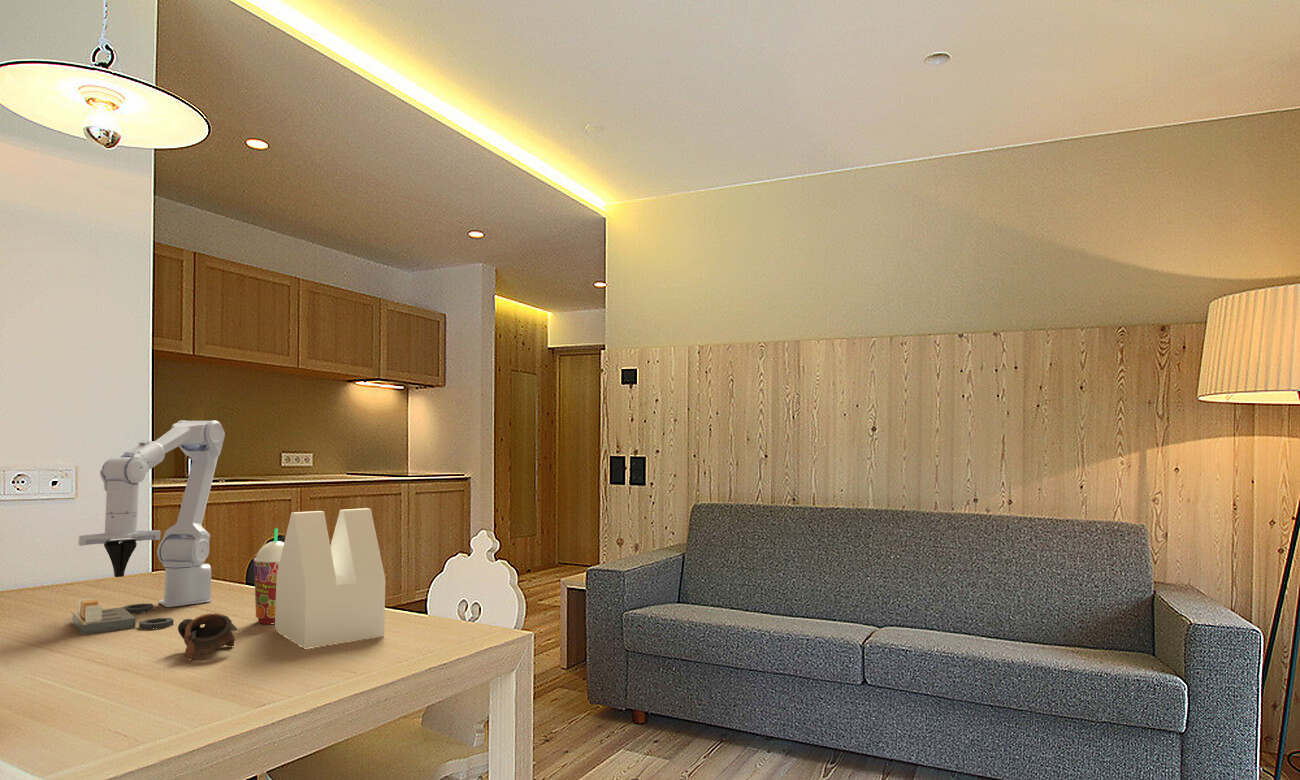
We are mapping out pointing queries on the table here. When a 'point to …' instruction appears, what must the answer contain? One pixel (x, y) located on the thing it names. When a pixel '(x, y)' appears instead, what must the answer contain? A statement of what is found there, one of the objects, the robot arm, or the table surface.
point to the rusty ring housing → (206, 634)
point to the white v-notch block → (330, 580)
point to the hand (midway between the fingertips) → (118, 576)
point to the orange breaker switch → (87, 603)
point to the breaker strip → (102, 619)
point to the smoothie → (267, 579)
